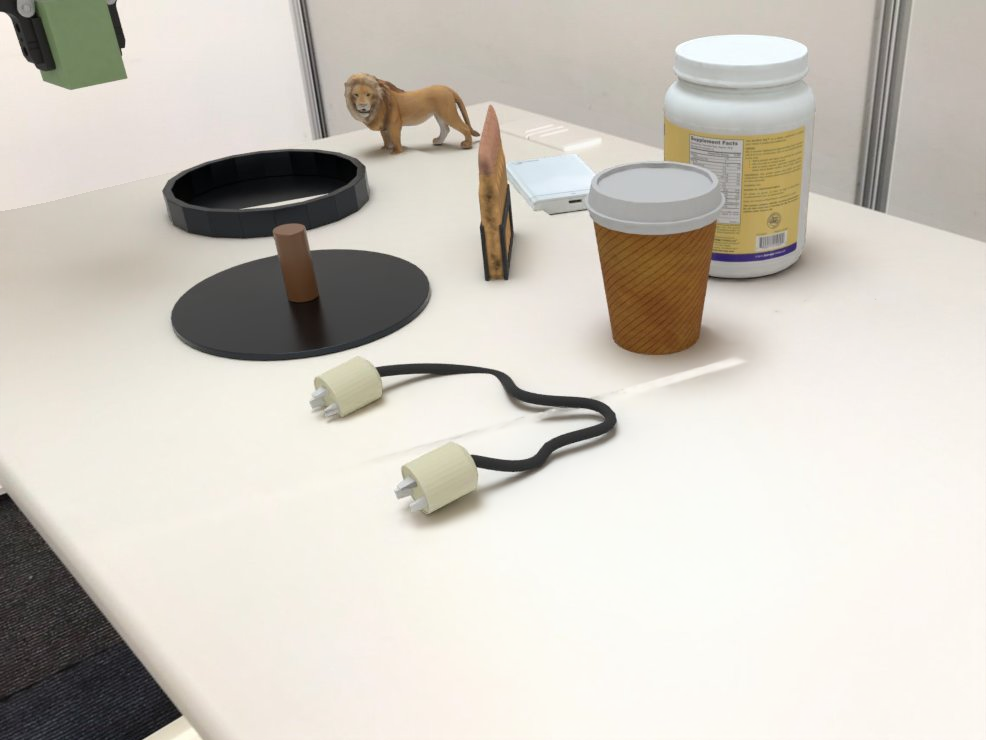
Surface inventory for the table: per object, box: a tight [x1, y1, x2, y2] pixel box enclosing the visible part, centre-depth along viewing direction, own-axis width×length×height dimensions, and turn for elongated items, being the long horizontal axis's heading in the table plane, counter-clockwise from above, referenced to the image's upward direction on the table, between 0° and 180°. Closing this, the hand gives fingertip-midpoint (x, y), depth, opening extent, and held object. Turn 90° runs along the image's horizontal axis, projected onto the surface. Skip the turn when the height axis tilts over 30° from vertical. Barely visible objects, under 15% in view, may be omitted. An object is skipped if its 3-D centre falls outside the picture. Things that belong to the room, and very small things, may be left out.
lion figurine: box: [343, 72, 481, 156], centre depth 114 cm, size 15×5×9 cm, turn 121°
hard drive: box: [506, 153, 598, 215], centre depth 104 cm, size 2×8×12 cm
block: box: [35, 0, 128, 91], centre depth 78 cm, size 4×4×6 cm
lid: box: [170, 224, 431, 361], centre depth 80 cm, size 20×20×7 cm
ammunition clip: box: [477, 104, 515, 282], centre depth 86 cm, size 11×2×12 cm, turn 3°
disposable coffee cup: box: [585, 160, 725, 356], centre depth 73 cm, size 10×10×12 cm
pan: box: [161, 148, 370, 240], centre depth 101 cm, size 19×19×3 cm
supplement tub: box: [662, 34, 817, 279], centre depth 85 cm, size 12×12×17 cm
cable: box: [308, 355, 618, 515], centre depth 66 cm, size 16×16×4 cm
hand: (79, 61), depth 79 cm, fingers closed on block, 4 cm apart
